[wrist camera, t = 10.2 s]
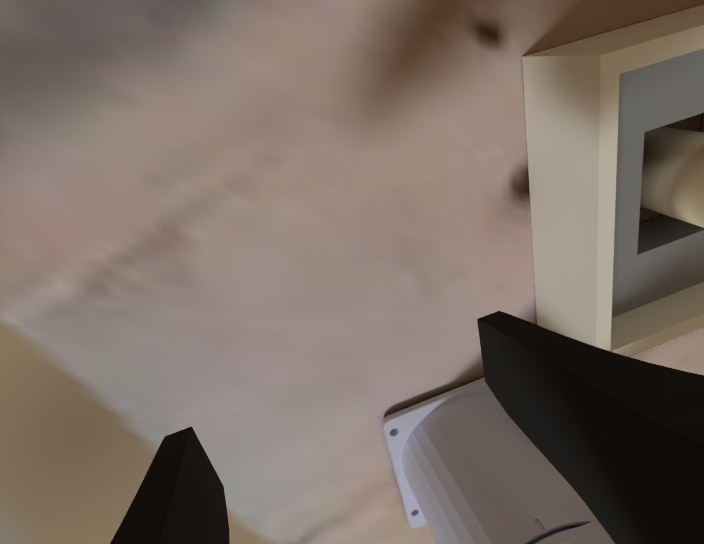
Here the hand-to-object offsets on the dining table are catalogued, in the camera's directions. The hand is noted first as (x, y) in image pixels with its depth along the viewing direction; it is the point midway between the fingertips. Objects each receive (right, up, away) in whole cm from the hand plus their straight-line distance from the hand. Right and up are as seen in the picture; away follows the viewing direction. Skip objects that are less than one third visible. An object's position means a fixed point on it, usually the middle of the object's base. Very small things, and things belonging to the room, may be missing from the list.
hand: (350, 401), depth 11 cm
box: (+15, +8, +13) cm, 22 cm away
